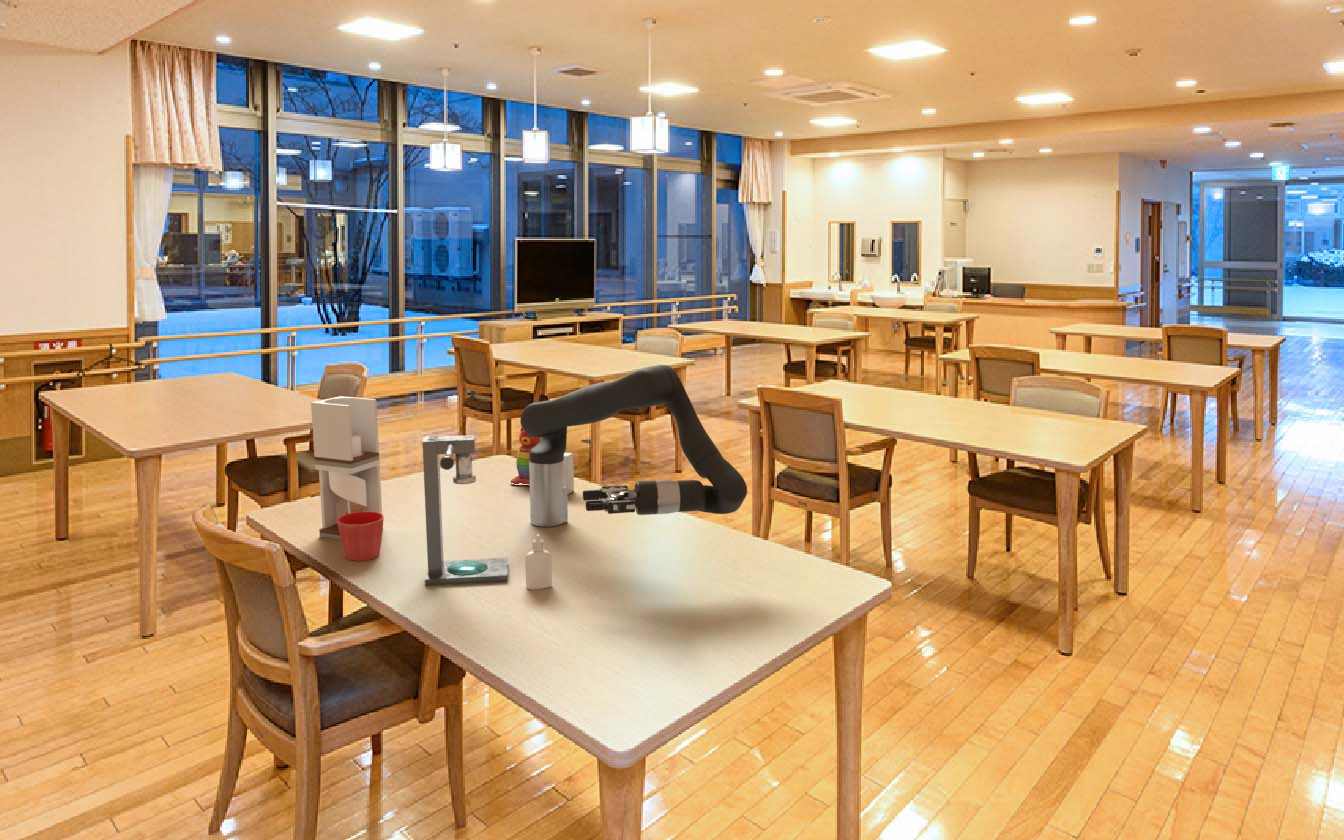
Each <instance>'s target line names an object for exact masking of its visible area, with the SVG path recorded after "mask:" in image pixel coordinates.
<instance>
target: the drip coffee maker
mask: <svg viewBox="0 0 1344 840" xmlns="http://www.w3.org/2000/svg"><path fill="white" fill-rule="evenodd" d="M310 408H311V409H310V410H311V424H312V438H313V439H312V440H313V453H314V454H313V455H314V467H315V468H314V469H315V470H317V471H318V477H319V478H318V480H319V481H318V482H319V492H320V493H319V496H320V508H321V509H320V510H321V524H322V525H321V526H322V527H321V528H319V530H318V531H319V537H320V538H324V537H325V538H326V539H330V538H331V539H332V540H336V541H337V540H338V541H342V540H341V536H340V532H339V528H338V524H337V519H338V518H339V517H341V516H343V515H346V514H349V513H354V512H364V511H370V512H378V513H381V514H382V515H383V503H382V502H383V501H382V486H381V484H382V483H381V465H380V464H381V463H380V447H379V446H380V445H379V432H378V431H379V430H378V410H377V399H375V398H367V397H366V398H364V397H353V396H342V395H339V396H335V397H330V398H326V399H322V400H317V401H313V402H310ZM383 531H384V529H383V530H382V532H383ZM325 538H324V539H325Z"/></svg>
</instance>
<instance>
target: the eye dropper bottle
mask: <svg viewBox="0 0 1344 840" xmlns="http://www.w3.org/2000/svg"><path fill="white" fill-rule="evenodd" d="M544 544H545V543H544V540H543V539H541V535H540V534H536V535H535V539H533V540H532V550H531V551H529V552H527V553H526V555H525V558H524V559H525V560H524V561H525V567H524V568H525V587H526V588H527V589H528V590H543V589H548V588H551V587H552V585H553V569H552V562H553V561H552V554H551V552H550V551H549V550H546V549H544V547H545V545H544Z"/></svg>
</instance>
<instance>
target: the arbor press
mask: <svg viewBox="0 0 1344 840" xmlns="http://www.w3.org/2000/svg"><path fill="white" fill-rule="evenodd" d="M421 442H422V461H423V464H422V465H423V483H424V505H425V507H424V508H425V531H426V532H425V533H426V534H425V535H426V552H427V568H426V573H425V577H424V586H425V587H428V586H429V587H430V585H435V586H448V585H447V584H450V585H451V584H452V586H453V584H454V585H469V583H472V584H484V583H485V584H487V583H489V582H491V583H504V582H505V583H507V582H508V580H509V576H508V575H509V574H508V573H509V572H508V569H509V568H508V557H496V558H495V557H493V558H474V559H473V558H472V559H454V560H453V559H452V560H449V559H448V560H444V541H443V540H444V539H443V537H444V536H443V515H442V514H443V513H442V490H441V489H442V488H441V487H442V485H441V469H443V470H446V471H449V470H451V469H452V468H453V467H454V464H455V475H454V476H452V483H453V484H455V485H469V484H474V483H476V481H477V478H476V475H475V474H473V454H475V453H476V452H475V451H476V436H475V434H473V435H472V434H471V435H467V434H466V435H424V437H423V439H422V441H421ZM454 454H455V455H454ZM440 455H444V456H443V457H441V458H440ZM453 457H455V461H454V459H453ZM467 583H468V584H467ZM489 584H490V583H489ZM450 585H449V586H450Z"/></svg>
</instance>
